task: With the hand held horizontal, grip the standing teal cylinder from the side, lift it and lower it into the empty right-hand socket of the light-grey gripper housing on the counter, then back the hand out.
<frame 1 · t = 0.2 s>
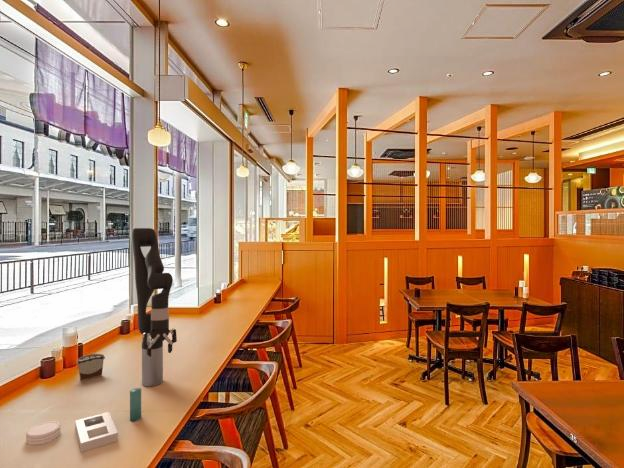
hand: (159, 354, 169), 17 cm above the table, tool pointing down, fingers open, 8 cm apart
teal cylinder: (135, 418, 148), on the table
coaster: (43, 438, 134), on the table
food container: (89, 376, 188), on the table
housing: (95, 434, 136), on the table
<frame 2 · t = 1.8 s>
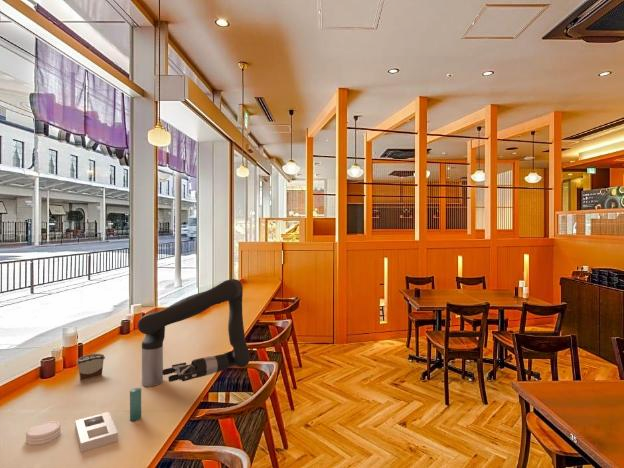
hand: (165, 375, 154), 14 cm above the table, tool horizontal, fingers open, 8 cm apart
nothing on the table moved.
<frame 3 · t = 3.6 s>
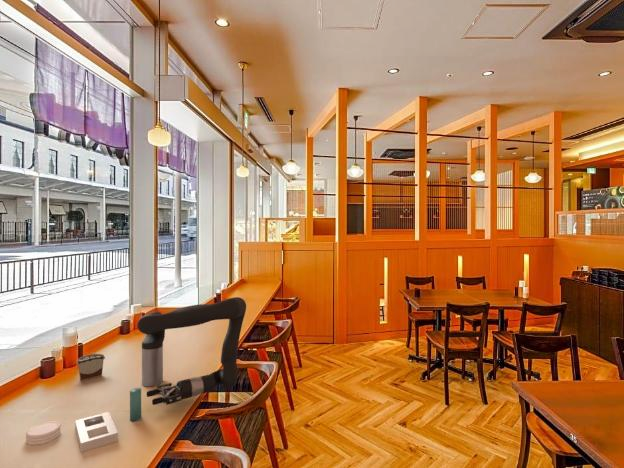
hand: (149, 398, 150), 7 cm above the table, tool horizontal, fingers open, 8 cm apart
nothing on the table moved.
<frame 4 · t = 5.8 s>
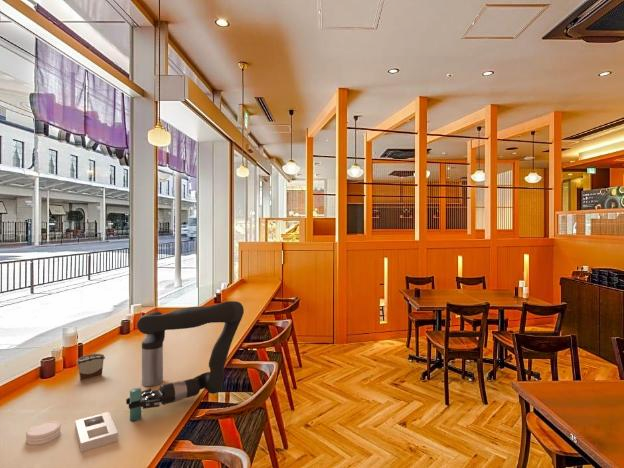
hand: (127, 403, 146), 7 cm above the table, tool horizontal, fingers closed on teal cylinder, 4 cm apart
teal cylinder: (135, 418, 147), on the table, touching gripper
everything else where it was.
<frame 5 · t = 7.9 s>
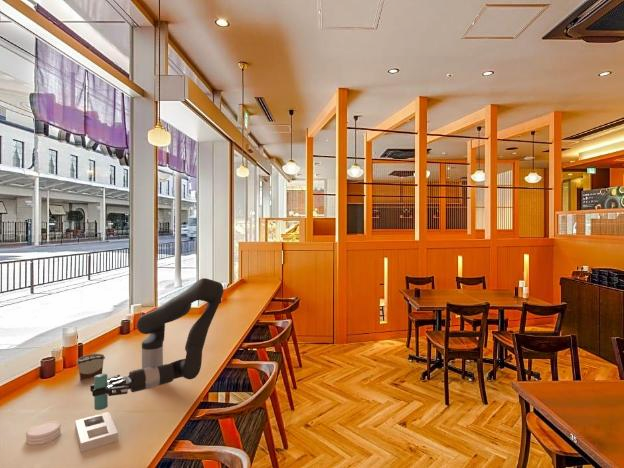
hand: (91, 390, 131), 18 cm above the table, tool horizontal, fingers closed on teal cylinder, 4 cm apart
teal cylinder: (101, 407, 133), point 11 cm above the table, touching gripper
everything else where it was.
when the fingers open (9 cm above the table, at t = 10.5 s): teal cylinder drops 2 cm, resting on housing.
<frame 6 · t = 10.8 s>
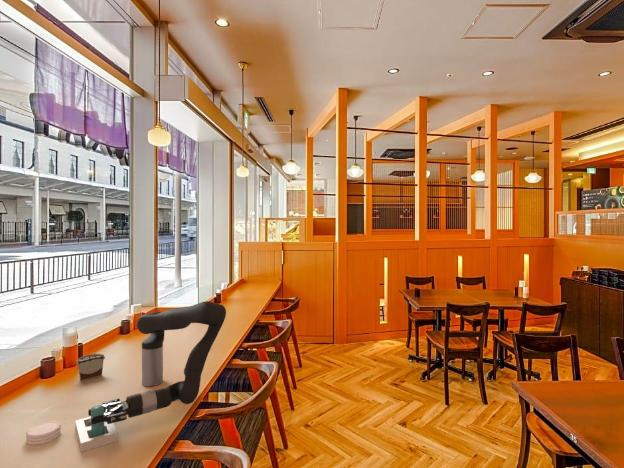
hand: (90, 416, 131), 9 cm above the table, tool horizontal, fingers open, 6 cm apart
teal cylinder: (98, 438, 132), point 1 cm above the table, touching housing
everything else where it was.
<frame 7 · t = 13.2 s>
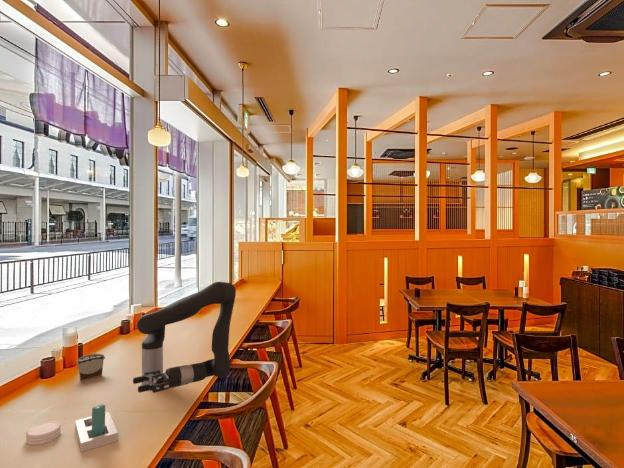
hand: (135, 385, 142), 15 cm above the table, tool horizontal, fingers open, 8 cm apart
nothing on the table moved.
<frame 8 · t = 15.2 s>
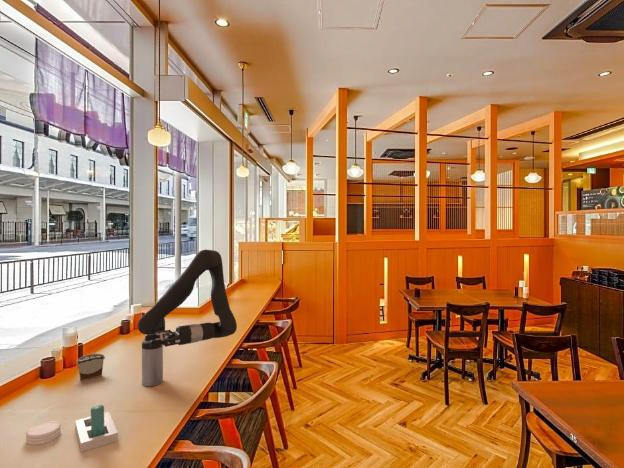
hand: (147, 341, 148), 30 cm above the table, tool horizontal, fingers open, 8 cm apart
nothing on the table moved.
at the end: teal cylinder 0.1 cm from the target spot on the housing, point 0.5 cm above the housing's base; teal cylinder tilted 1°; the gripper is holding nothing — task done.
